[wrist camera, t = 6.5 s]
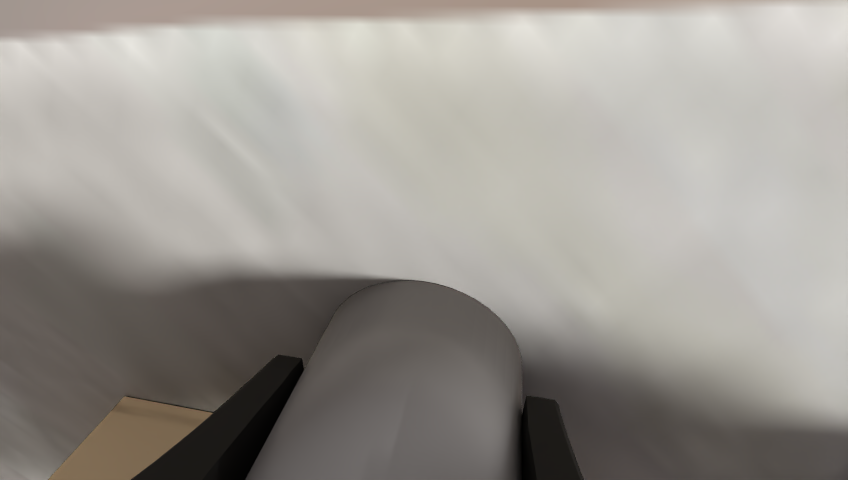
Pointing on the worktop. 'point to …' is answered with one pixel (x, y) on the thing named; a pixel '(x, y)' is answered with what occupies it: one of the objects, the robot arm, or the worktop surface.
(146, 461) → the carton box
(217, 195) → the worktop surface
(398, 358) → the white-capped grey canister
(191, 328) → the worktop surface
